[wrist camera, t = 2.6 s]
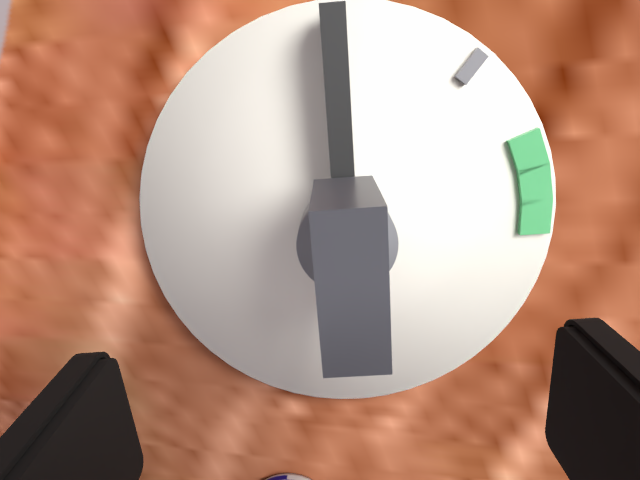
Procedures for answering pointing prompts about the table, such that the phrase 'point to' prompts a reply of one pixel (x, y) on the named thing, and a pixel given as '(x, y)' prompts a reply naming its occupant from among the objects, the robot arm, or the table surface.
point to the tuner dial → (369, 159)
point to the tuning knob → (347, 232)
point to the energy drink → (288, 477)
